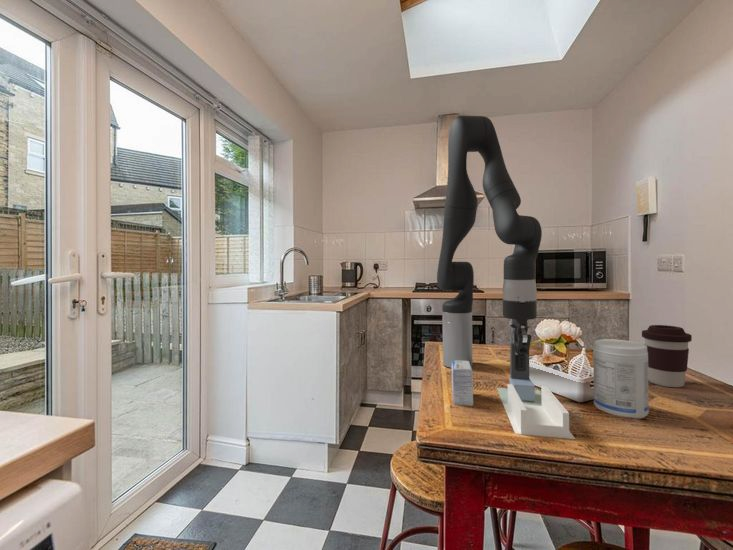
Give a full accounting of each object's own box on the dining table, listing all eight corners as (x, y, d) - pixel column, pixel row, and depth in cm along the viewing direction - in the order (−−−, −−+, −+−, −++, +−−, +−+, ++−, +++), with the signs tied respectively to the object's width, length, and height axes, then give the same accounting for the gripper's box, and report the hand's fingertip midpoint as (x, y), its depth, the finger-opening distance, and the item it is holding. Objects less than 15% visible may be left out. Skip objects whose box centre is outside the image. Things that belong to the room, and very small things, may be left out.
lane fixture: (496, 390, 88) (496, 370, 88) (539, 392, 86) (538, 372, 86) (515, 436, 64) (515, 409, 64) (575, 442, 61) (575, 413, 61)
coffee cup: (700, 386, 88) (700, 328, 88) (677, 392, 85) (677, 331, 85) (655, 375, 98) (655, 322, 97) (633, 380, 94) (633, 325, 94)
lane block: (509, 390, 85) (509, 342, 85) (528, 391, 84) (528, 342, 84) (513, 399, 79) (513, 347, 79) (534, 401, 78) (534, 348, 78)
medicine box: (473, 408, 77) (473, 369, 77) (452, 407, 78) (452, 368, 78) (470, 395, 85) (469, 360, 85) (451, 394, 86) (451, 359, 85)
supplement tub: (616, 400, 80) (616, 337, 80) (660, 417, 71) (660, 346, 71) (582, 405, 78) (582, 340, 77) (623, 423, 69) (623, 349, 68)
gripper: (498, 295, 91) (499, 361, 91) (507, 300, 78) (508, 377, 78) (529, 296, 89) (529, 362, 90) (543, 301, 76) (544, 379, 76)
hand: (519, 369), depth 84 cm, fingers closed on lane block, 1 cm apart
